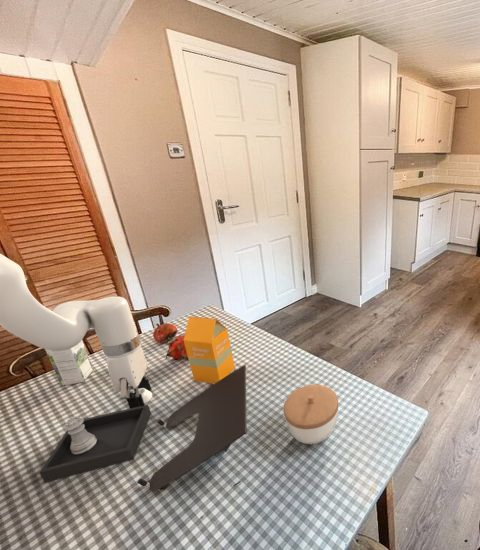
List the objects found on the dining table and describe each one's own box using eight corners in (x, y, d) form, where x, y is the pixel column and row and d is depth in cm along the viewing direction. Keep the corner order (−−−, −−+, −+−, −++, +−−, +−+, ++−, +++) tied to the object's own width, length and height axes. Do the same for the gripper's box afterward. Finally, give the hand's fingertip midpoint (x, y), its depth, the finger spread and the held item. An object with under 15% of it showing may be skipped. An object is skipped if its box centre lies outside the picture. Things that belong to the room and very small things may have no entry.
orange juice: (220, 384, 89) (207, 325, 82) (193, 381, 90) (178, 323, 83) (235, 367, 96) (224, 312, 89) (210, 364, 98) (197, 309, 90)
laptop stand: (185, 429, 81) (160, 410, 77) (260, 380, 84) (240, 359, 80) (166, 518, 62) (130, 500, 57) (265, 450, 64) (239, 427, 60)
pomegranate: (184, 343, 112) (171, 322, 115) (183, 335, 107) (169, 313, 109) (162, 354, 108) (149, 332, 110) (159, 346, 102) (146, 323, 105)
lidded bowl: (332, 405, 82) (330, 372, 78) (346, 444, 71) (344, 408, 67) (284, 419, 77) (279, 385, 73) (291, 463, 66) (286, 425, 62)
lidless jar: (156, 396, 85) (144, 391, 86) (154, 387, 84) (141, 383, 85) (139, 409, 80) (126, 404, 82) (136, 400, 79) (123, 396, 81)
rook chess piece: (100, 444, 70) (89, 418, 67) (76, 459, 67) (62, 432, 64) (93, 435, 72) (81, 409, 69) (68, 449, 69) (55, 423, 66)
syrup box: (72, 373, 94) (54, 333, 88) (94, 370, 95) (78, 330, 90) (61, 386, 88) (41, 344, 83) (85, 382, 90) (67, 341, 85)
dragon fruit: (208, 350, 107) (174, 373, 99) (192, 333, 108) (157, 355, 100) (210, 339, 102) (174, 363, 93) (193, 322, 102) (156, 343, 94)
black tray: (44, 483, 62) (38, 472, 61) (77, 430, 74) (73, 421, 73) (133, 459, 67) (129, 449, 66) (151, 413, 79) (148, 404, 78)
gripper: (117, 329, 83) (135, 382, 90) (87, 368, 68) (112, 428, 75) (149, 324, 85) (164, 376, 92) (127, 361, 70) (148, 419, 77)
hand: (141, 398), depth 83 cm, fingers open, 5 cm apart
